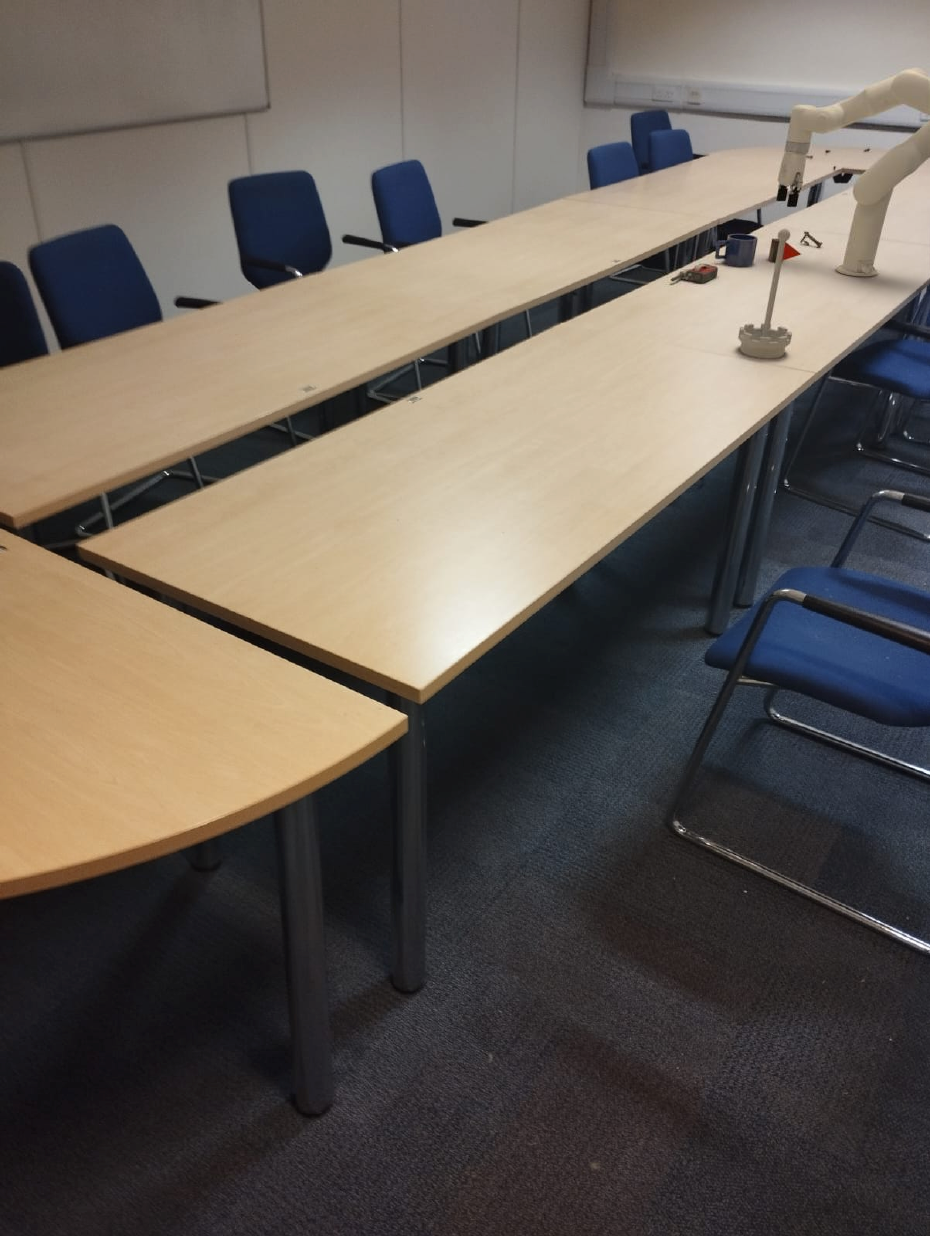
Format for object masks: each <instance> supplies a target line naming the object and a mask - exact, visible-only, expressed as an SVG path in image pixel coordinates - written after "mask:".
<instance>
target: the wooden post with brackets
mask: <svg viewBox="0 0 930 1236" xmlns="http://www.w3.org/2000/svg"><path fill="white" fill-rule="evenodd" d="M803 234H804V235H803V237H802V238H801V239H800V241H799V242H800V243H801V244H802V243H803V244H804V245H806V246H810V242H808V240H806V239H809V240H810V241H811V242H813V243H814V244H815V245H816V247H817V249H819V248H821V246H822V245H823V242H822V241H821V242H820V241H818V240H817V239H816V238H814V236H812V235H811V234H810V231H806V230H804V231H803Z"/></svg>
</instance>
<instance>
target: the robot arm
mask: <svg viewBox="0 0 930 1236" xmlns="http://www.w3.org/2000/svg"><path fill="white" fill-rule="evenodd" d="M901 105H905V106H907V107H909V108H912V109H914V110H916V111H919V112H921V113H923V114H926V115H928V116H930V77H929V76H928V74H927V73H926V71H925V70H924V69H922V68H920V67H911V68H907V69H904V70H902V71H900V72H899V73H897V74H895V75H893V76H891V77H888V78H886V79H883V80H881V81H879V82H876V83H873V84H871V85H868V86H867V87H865V88H864V89H863V90H862V91H860V92H859V93H856V94H854V95H853V96H850V97H848V98H846V99H843V100H841V101H838V102H836V103H834V104H830V105H828V106H823V107H817V106H815V105H812V104H796V105H794V106H793V107H792V109H791V115H790V120H789V126H788V130H787V137H786V140H785V146H784V153H783V156H782V160H781V163H780V167H779V171H778V176H777V182H778V189H777V194H776V199H775V200H776V201H777V202H786V201H787V204H786V207H787V208H797V206H798V202H799V196H800V194H801V191H802V186H803V184H804V174H805V169H806V162H807V155H808V154H809V151H810V146H811V142H812V138H813V137H812V135H813V133H816V134H819V135H820V134H821V135H825V134H828V133H831V132H834V131H837V130H839V129H842V128H844V127H846V126H847V127H848V126H849V125H852V124H854V123H856V122H859V121H861V120H863V119H867V118H871V117H875V116H877V115H879V114H881V113H884V112H887V111H889V110H891V109H894V108H896V107H899V106H901ZM928 159H930V119H929V120H928V121H927V122H926V123H924V124H923V125H922V126H921V127H920V128H919V129H918V130H917V131H916V132H914V133H913V134H912V135H911V136H910V137H909V138H907V140H904V142H902V143H899V144H897V145H895V146H893V147H891V148H890V149H889V150H888V151H887V152H885V153H884V154H883V155H881V156H880V158H878V160H876V161H875V162H874V163H873V164H872V165H871V166H869V168H867V169H866V170H864V172H862V174H860V176H859V177H857V178H856V180H855V182H854V184H853V187H852V195H853V199H854V200H855V201H856V202H857V203H856V205H855V209H854V212H853V217H852V221H851V225H850V230H849V233H848V234H849V235H848V238H847V239H848V240H847V244H846V248H845V253H844V256H843V261H842V264H839V265H837V266H836V271H837V272H838V273H840V274H843V275H848V276H853V277H873V276H876V275H877V272H878V270H877V269H876V268H875V267H874V266H875V265H874V264H875V260H876V256H877V252H878V248H879V244H880V240H881V236H882V232H883V227H884V223H885V220H886V216H887V211H888V208H889V204H890V202H891V199H892V195H893V192H894V188H895V187H896V186H897V185H898V184H900V183H901V182H902V181H903V180H905V179H906V178H907V177H908V176H910V175H913V174H914V173H915V172H916V171H917V170H918V169H919V168H920V167H921V166H922V165H923V164H924V163H925V162H926V161H927V160H928ZM788 187H789V188H788ZM788 191H789V194H788Z"/></svg>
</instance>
